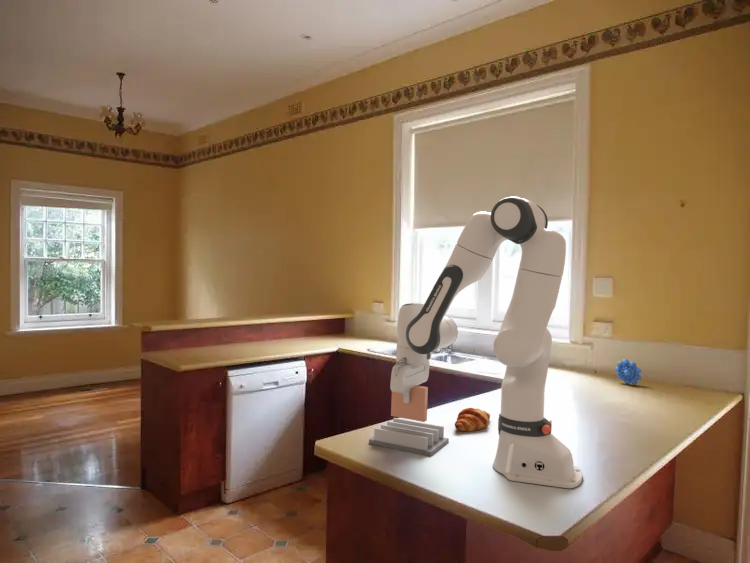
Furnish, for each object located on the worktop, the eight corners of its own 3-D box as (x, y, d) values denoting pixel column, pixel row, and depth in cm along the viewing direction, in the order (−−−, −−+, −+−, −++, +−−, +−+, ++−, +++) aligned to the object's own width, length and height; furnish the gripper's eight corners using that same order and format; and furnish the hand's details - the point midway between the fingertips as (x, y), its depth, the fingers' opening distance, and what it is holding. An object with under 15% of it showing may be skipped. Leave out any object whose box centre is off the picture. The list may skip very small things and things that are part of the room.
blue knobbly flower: (612, 384, 249) (613, 359, 249) (615, 381, 254) (616, 357, 254) (639, 387, 242) (640, 362, 242) (642, 385, 248) (643, 360, 247)
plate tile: (426, 420, 157) (427, 387, 156) (424, 422, 155) (425, 388, 155) (393, 414, 162) (394, 382, 162) (390, 415, 160) (392, 383, 160)
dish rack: (448, 442, 160) (448, 426, 160) (430, 456, 148) (431, 439, 148) (390, 431, 170) (390, 416, 169) (368, 443, 157) (369, 427, 157)
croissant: (480, 428, 187) (471, 406, 189) (504, 420, 181) (494, 397, 184) (449, 441, 171) (440, 417, 173) (474, 432, 165) (464, 408, 167)
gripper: (405, 362, 147) (404, 411, 148) (433, 352, 165) (431, 396, 166) (385, 359, 150) (384, 407, 151) (415, 350, 168) (413, 393, 169)
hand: (409, 401), depth 158 cm, fingers closed on plate tile, 2 cm apart
